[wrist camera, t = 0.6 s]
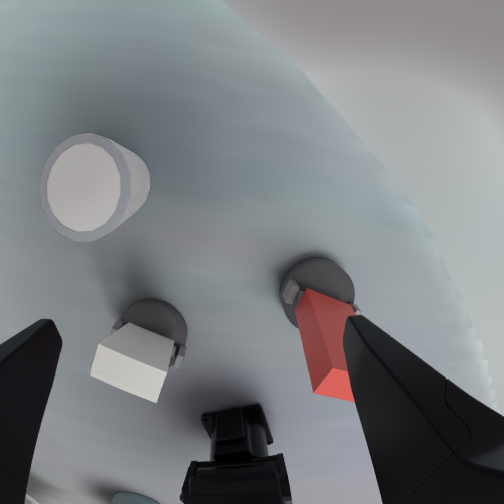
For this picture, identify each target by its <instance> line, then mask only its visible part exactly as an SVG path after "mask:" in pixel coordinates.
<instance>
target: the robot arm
mask: <svg viewBox="0 0 504 504" xmlns="http://www.w3.org/2000/svg"><path fill="white" fill-rule="evenodd" d="M61 348H62V338H61V336H60V334H59V332H58V330H57V328H56V325H55V323H54V322H53V321H52V320H51V319H40V320H38V321H37V322H35V323H34V324H32V325H30V326H29V327H27V328H26V329H24V330H22V331H21V332H19V333H18V334H16V335H15V336H13V337H11V338H10V339H8V340H7V341H5V342H4V343H2V344H1V345H0V504H25V497H26V491H27V489H26V488H27V484H28V478H29V473H30V468H31V463H32V459H33V454H34V450H35V445H36V441H37V437H38V433H39V429H40V426H41V422H42V418H43V415H44V411H45V408H46V405H47V401H48V398H49V395H50V392H51V388H52V385H53V381H54V377H55V372H56V368H57V364H58V360H59V356H60V352H61ZM343 348H344V353H345V359H346V364H347V369H348V375H349V381H350V386H351V390H352V394H353V398H354V401H355V404H356V408H357V411H358V414H359V418H360V421H361V425H362V428H363V431H364V435H365V438H366V442H367V445H368V449H369V453H370V456H371V460H372V464H373V467H374V471H375V475H376V479H377V483H378V487H379V490H380V494H381V498H382V503H383V504H504V416H502V415H500V414H499V413H497V412H496V411H494V410H492V409H491V408H489V407H487V406H486V405H484V404H483V403H481V402H480V401H478V400H476V399H475V398H473V397H472V396H470V395H469V394H468V393H466V392H465V391H463V390H462V389H461V388H459V387H458V386H456V385H455V384H454V383H453V382H451V381H450V380H449V379H447V380H446V377H444V376H443V375H442V374H440V373H439V372H438V371H437V370H435V369H434V368H433V367H431V366H430V365H429V364H427V363H426V362H425V361H423V360H422V359H421V358H419V357H418V356H417V355H415V354H414V353H413V352H411V351H410V350H409V349H407V348H406V347H405V346H403V345H402V344H401V343H399V342H398V341H396V340H395V339H394V338H392V337H391V336H390V335H388V334H387V333H386V332H384V331H383V330H382V329H380V328H379V327H378V326H376V325H375V324H374V323H372V322H371V321H370V320H368V319H367V318H365V317H364V316H363V315H350V316H348V317H347V319H346V323H345V328H344V333H343ZM256 409H258V410H256ZM205 418H207V419H205ZM201 421H202V423H203V425H204V427H205V429H206V431H207V433H208V435H209V437H210V439H211V454H210V461H205V462H197V461H191V464H190V467H189V468H188V471H187V474H186V477H185V480H184V484H183V487H182V493H181V494H180V500H181V501H182V502H183V503H184V504H292V498H291V491H290V485H289V480H288V475H287V470H286V466H285V462H284V457H283V453H280V454H277V455H273V456H268V449H267V445H270V444H272V443H273V438H272V435H271V432H270V429H269V426H268V423H267V420H266V417H265V414H264V411H263V408H262V406H261V405H259V404H256V405H251V406H247V407H242V408H237V409H231V410H226V411H220V412H214V413H208V414H203V415H202V416H201Z"/></svg>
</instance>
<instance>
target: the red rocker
mask: <svg viewBox="0 0 504 504" xmlns="http://www.w3.org/2000/svg"><path fill="white" fill-rule="evenodd" d="M294 301H297V302H299V303H298V304H297V306H296V308H295V313H296V318H297V322H298V326H299V331H300V335H301V339H302V344H303V348H304V353H305V357H306V361H307V366H308V370H309V375H310V379H311V384H312V389H313V393H316V394H320V395H324V396H329V397H333V398H338V399H343V400H348V401H353V402H355V401H354V398H353V394H352V390H351V386H350V381H349V375H348V369H347V364H346V359H345V353H344V348H343V333H344V328H345V323H346V319H347V317H348V316H350V315H356V314H355V312H354V310H353V309H352V307H351V305H349V304H347V303H344V302H342V301H339V300H336V299H334V298H331V297H328V296H326V295H323V294H321V293H318V292H315V291H313V290H310V289H308V288H306V290H305V292H304V291H301V290H298V292H297V294H296V297H295V299H294Z"/></svg>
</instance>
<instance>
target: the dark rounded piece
mask: <svg viewBox="0 0 504 504" xmlns="http://www.w3.org/2000/svg"><path fill="white" fill-rule="evenodd" d="M306 288H308V289H310V290H313V291H315V292H318V293H321V294H323V295H326V296H328V297H331V298H334V299H336V300H339V301H342V302H344V303H347V304H349V305H351V307H352V309H353V310H354V312H355V314H356V315H361V313H362V311H361V310H360V309H359V308H358V307H357V306H356V305H355V304H353V303H354V296H355V292H354V286H353V283H352V280H351V279H350V277H349V276H348V274H347V273H346V272H345V271H344V270H343V269H341V268H340V267H339V266H338V265H337V264H336V263H334V262H333V261H331V260H329V259H326V258H320V257H313V258H308V259H305V260H302V261H300V262H298V263H297V264H295V265H294V266H293V267H292V268H291V269H290V270H289V271H288V272H287V273H286V275H285V276H284V278H283V280H282V283H281V287H280V299H281V303H282V306H283V308H284V311H285V314H286V316H287V318H288V319H289V321H290V322H291V323H292V324H293V325H294V326H295V327H297V328H299V326H298V322H297V318H296V313H295V308H296V306H297V304H298V303H299V302H297V301H294V299H295V297H296V294H297V292H298V290H301V291H304V292H305V290H306Z"/></svg>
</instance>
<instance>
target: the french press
mask: <svg viewBox="0 0 504 504" xmlns="http://www.w3.org/2000/svg"><path fill="white" fill-rule="evenodd" d="M25 504H39V503H38V502H37V501H36V500H34V499H33V498H32V497H30V496H29V495H27V494H26V497H25Z"/></svg>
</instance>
